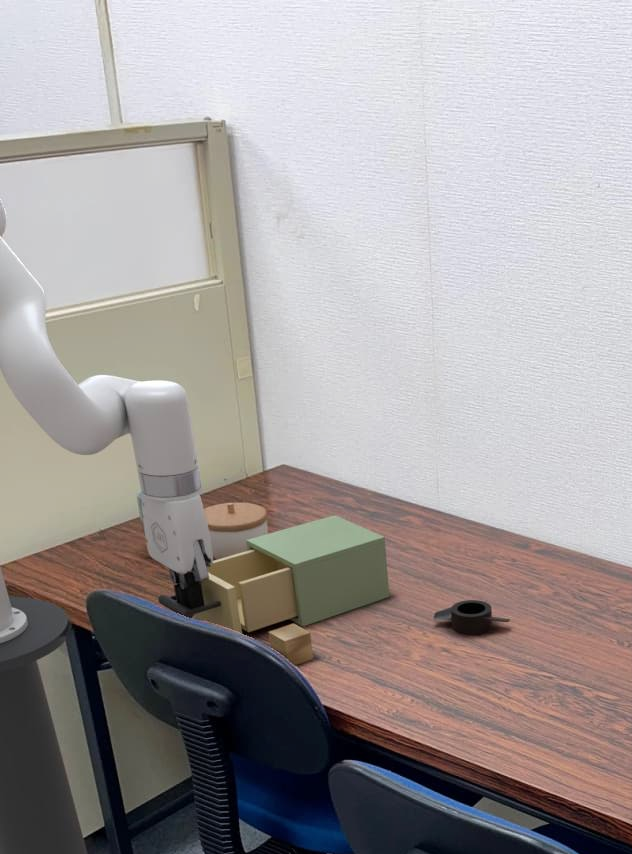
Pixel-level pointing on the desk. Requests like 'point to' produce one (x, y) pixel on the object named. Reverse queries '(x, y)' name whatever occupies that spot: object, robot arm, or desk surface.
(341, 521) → the box
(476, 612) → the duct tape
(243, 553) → the drawer
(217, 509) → the trinket box
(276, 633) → the block
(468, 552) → the desk surface
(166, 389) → the robot arm
